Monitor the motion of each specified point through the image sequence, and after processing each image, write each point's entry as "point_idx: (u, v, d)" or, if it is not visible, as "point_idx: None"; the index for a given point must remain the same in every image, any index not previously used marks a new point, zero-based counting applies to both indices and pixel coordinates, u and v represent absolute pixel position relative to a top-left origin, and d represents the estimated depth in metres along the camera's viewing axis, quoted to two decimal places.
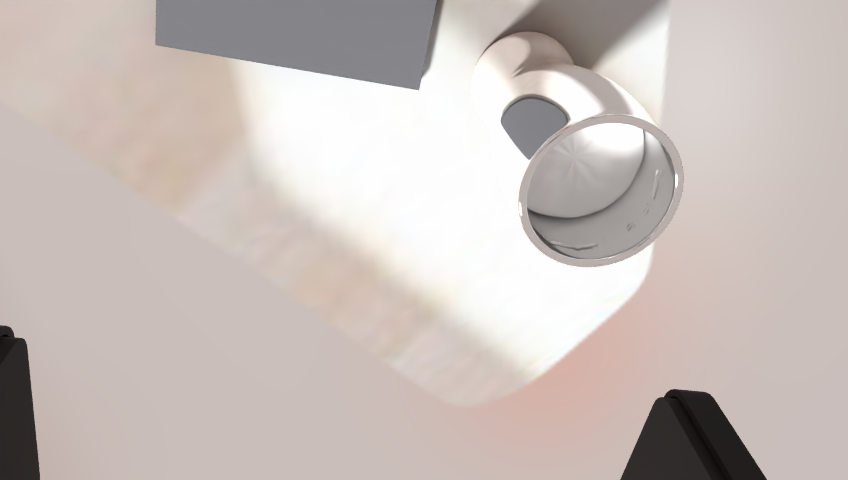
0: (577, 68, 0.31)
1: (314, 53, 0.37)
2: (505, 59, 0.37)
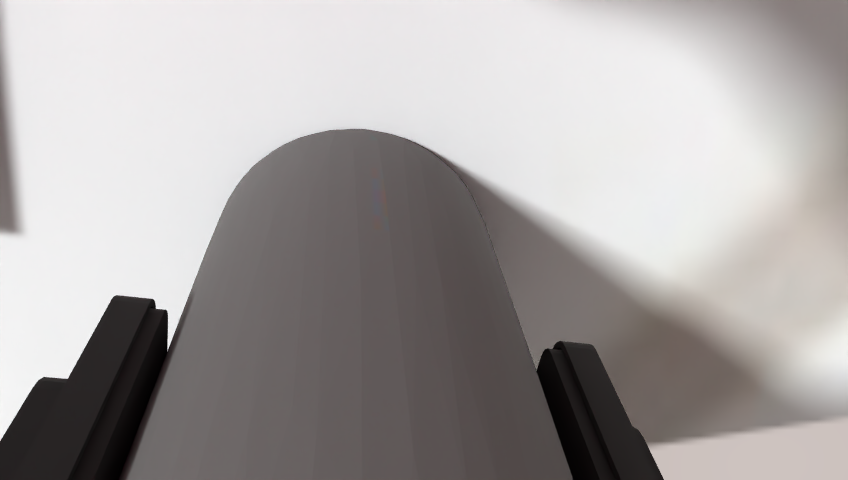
0: None
1: None
2: None
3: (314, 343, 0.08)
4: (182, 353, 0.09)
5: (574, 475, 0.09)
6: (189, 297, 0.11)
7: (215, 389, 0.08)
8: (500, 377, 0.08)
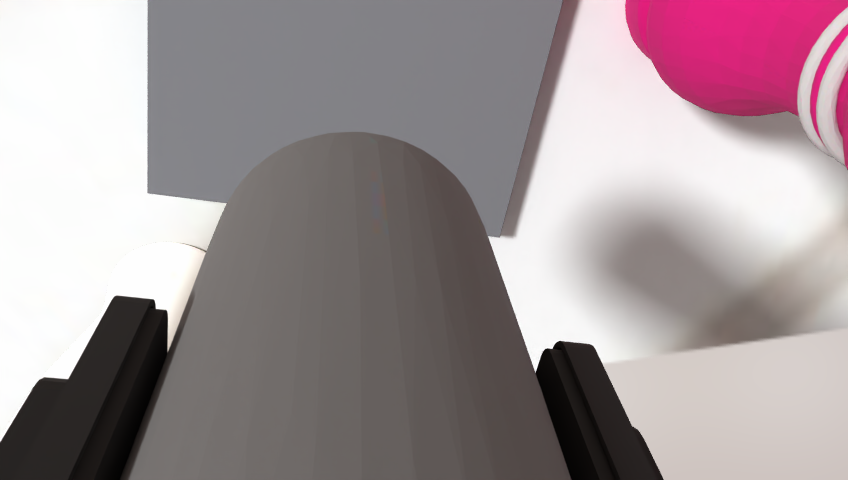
0: None
1: (173, 64, 0.28)
2: None
3: (313, 348, 0.08)
4: (181, 358, 0.09)
5: (574, 475, 0.09)
6: (188, 301, 0.11)
7: (213, 395, 0.08)
8: (499, 383, 0.08)
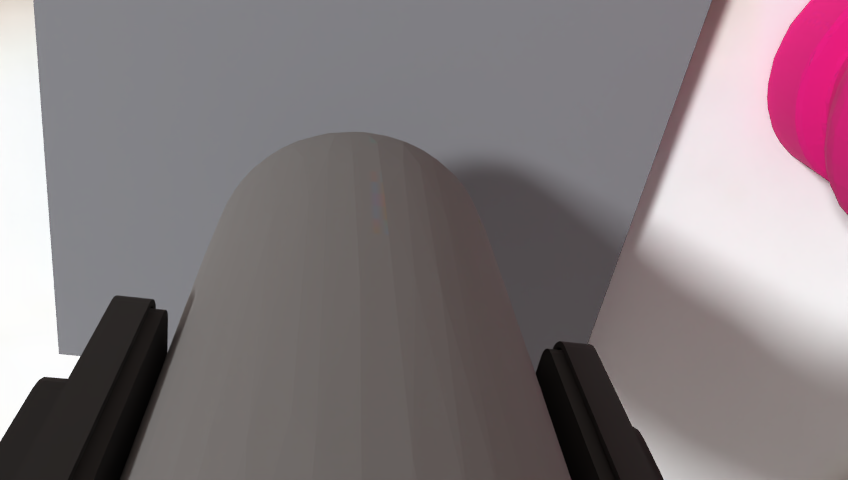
0: None
1: (86, 179, 0.18)
2: None
3: (313, 349, 0.08)
4: (181, 358, 0.09)
5: (574, 475, 0.09)
6: (188, 301, 0.11)
7: (214, 395, 0.08)
8: (499, 383, 0.08)
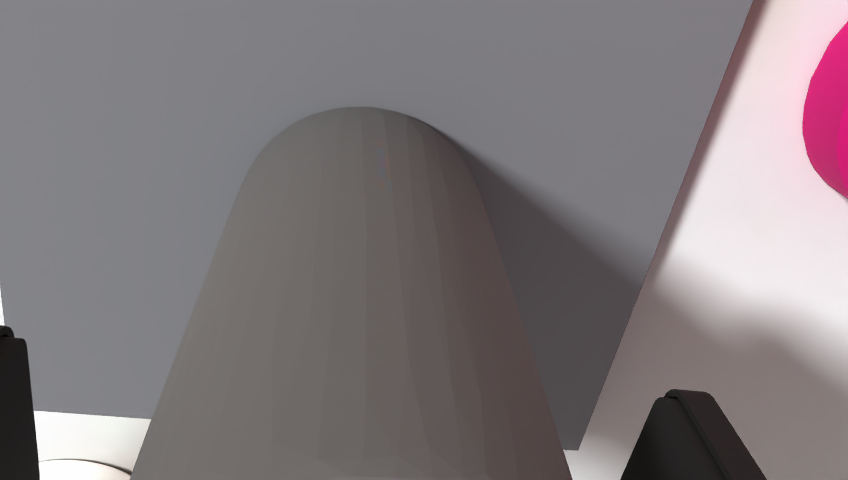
0: None
1: (38, 220, 0.16)
2: None
3: (327, 276, 0.09)
4: (214, 290, 0.10)
5: None
6: (216, 250, 0.13)
7: (244, 312, 0.09)
8: (484, 309, 0.10)
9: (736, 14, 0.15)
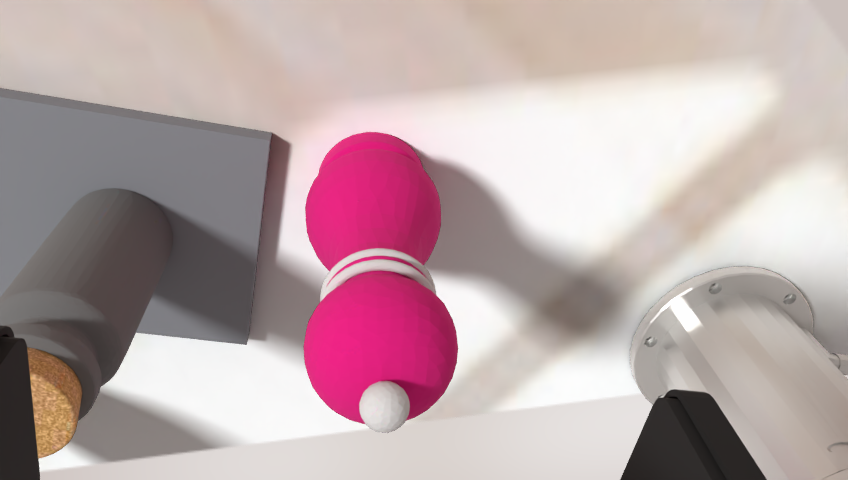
0: None
1: None
2: None
3: (59, 250, 0.32)
4: (32, 256, 0.34)
5: None
6: None
7: (35, 260, 0.32)
8: (110, 261, 0.33)
9: (263, 155, 0.39)
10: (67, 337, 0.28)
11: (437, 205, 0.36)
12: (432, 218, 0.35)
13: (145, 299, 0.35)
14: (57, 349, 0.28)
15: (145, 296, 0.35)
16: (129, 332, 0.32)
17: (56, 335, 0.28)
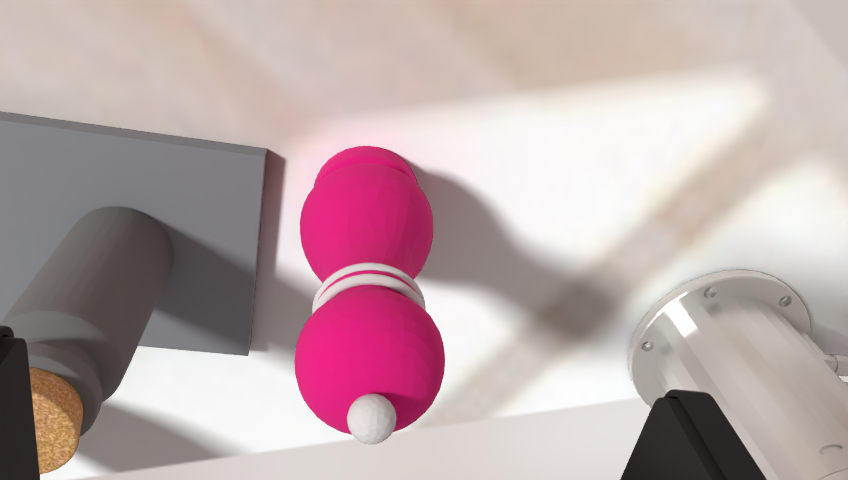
0: None
1: None
2: None
3: (61, 270, 0.33)
4: None
5: None
6: None
7: (37, 280, 0.33)
8: (110, 279, 0.34)
9: (258, 171, 0.39)
10: (68, 356, 0.29)
11: (428, 217, 0.37)
12: (424, 230, 0.36)
13: (145, 315, 0.36)
14: (57, 368, 0.29)
15: (145, 312, 0.36)
16: (129, 348, 0.33)
17: (57, 354, 0.29)
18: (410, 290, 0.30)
